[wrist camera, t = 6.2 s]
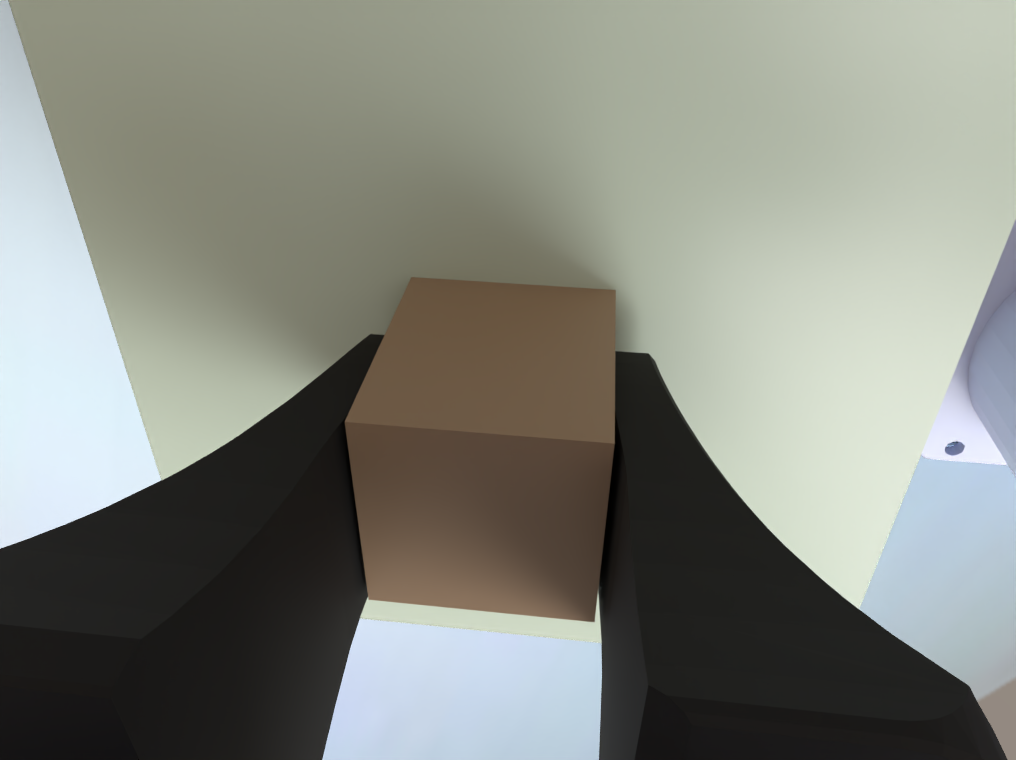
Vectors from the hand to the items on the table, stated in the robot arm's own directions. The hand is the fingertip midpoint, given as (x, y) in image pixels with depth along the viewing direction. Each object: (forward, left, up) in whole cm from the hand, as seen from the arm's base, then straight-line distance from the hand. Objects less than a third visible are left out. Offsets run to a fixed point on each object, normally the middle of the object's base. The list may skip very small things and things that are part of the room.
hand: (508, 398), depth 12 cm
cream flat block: (0, 0, -1) cm, 1 cm away
